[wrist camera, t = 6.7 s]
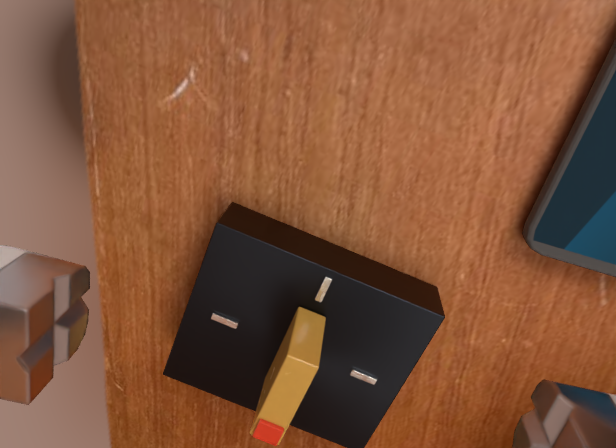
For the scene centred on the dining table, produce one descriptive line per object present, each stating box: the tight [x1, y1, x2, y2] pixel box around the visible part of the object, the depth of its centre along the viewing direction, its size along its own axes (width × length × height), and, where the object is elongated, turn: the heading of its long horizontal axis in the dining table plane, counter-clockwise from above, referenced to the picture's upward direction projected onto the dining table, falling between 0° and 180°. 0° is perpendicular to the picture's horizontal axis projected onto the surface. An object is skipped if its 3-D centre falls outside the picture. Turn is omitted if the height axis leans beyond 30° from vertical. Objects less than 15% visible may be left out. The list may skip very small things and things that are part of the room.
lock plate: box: [163, 202, 445, 448], centre depth 27 cm, size 12×10×3 cm
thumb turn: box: [250, 307, 326, 446], centre depth 24 cm, size 5×2×4 cm, turn 158°
